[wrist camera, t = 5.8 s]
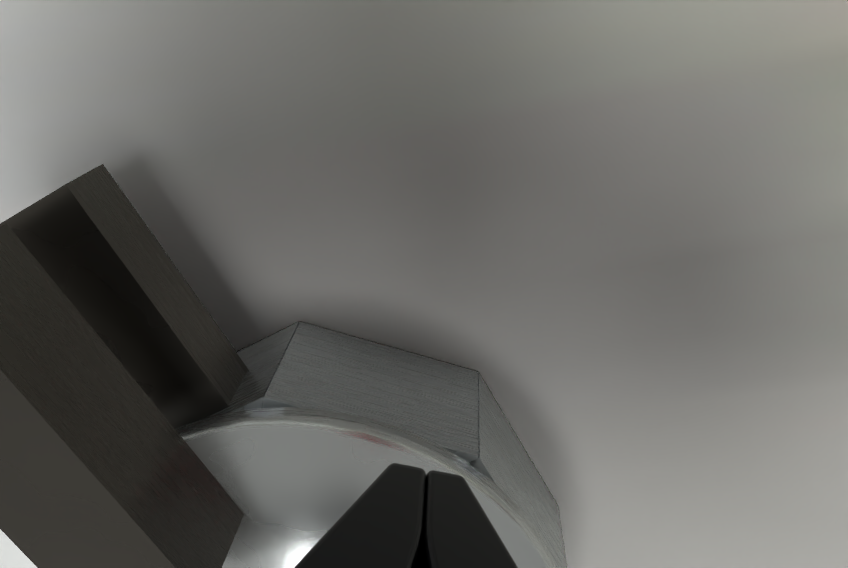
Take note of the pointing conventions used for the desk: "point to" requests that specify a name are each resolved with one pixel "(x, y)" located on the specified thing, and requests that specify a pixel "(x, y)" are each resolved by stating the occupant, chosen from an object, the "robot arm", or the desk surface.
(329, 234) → the desk surface
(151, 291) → the pot
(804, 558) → the desk surface
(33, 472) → the lid
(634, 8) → the desk surface
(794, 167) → the desk surface
